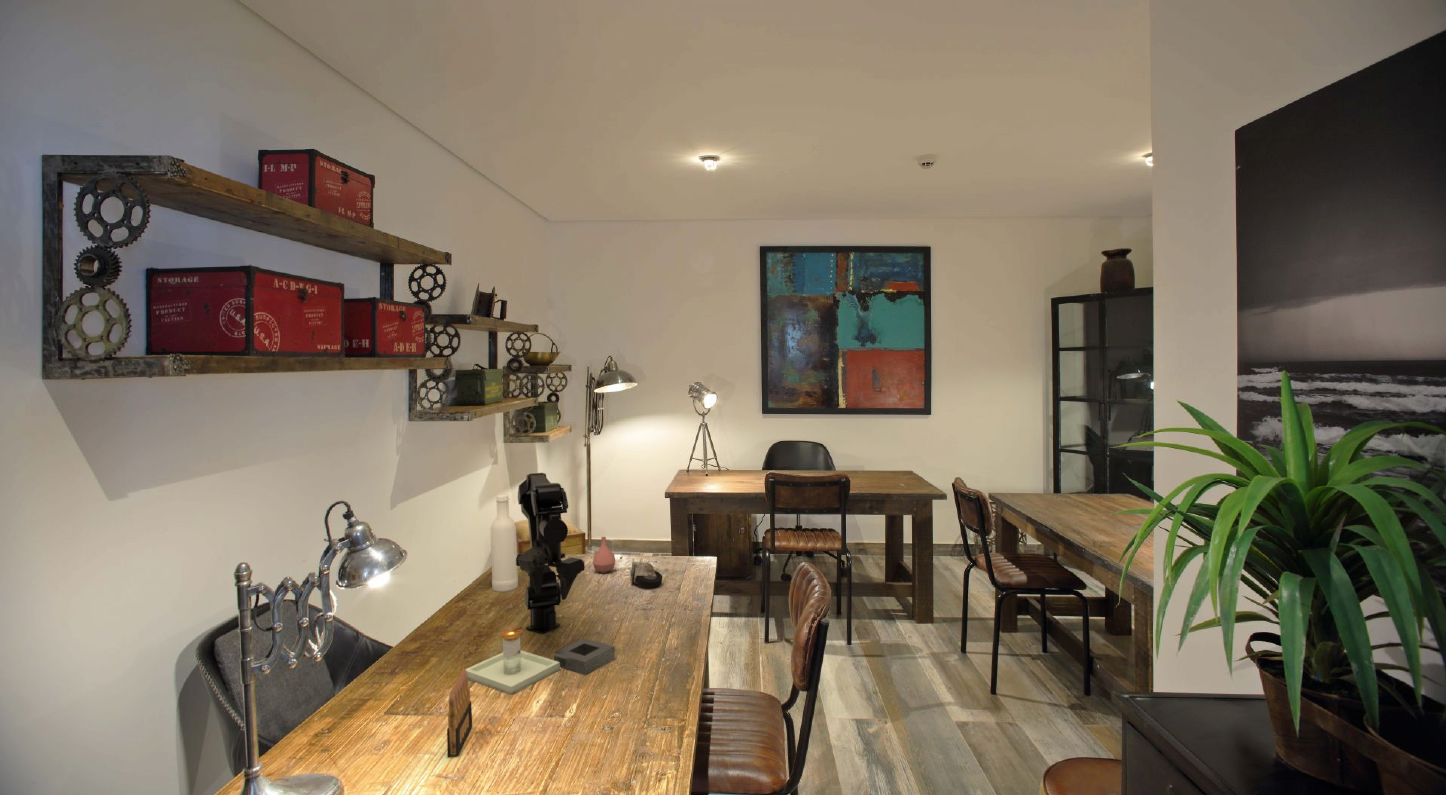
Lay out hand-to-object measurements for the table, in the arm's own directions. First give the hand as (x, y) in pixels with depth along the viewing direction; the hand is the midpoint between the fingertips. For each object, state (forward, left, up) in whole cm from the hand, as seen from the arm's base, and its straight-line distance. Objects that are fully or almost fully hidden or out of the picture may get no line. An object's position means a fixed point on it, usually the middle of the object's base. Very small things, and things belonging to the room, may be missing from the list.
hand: (550, 596), depth 168 cm
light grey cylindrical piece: (+3, -15, -12) cm, 20 cm away
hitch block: (+13, -2, -13) cm, 18 cm away
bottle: (-48, +25, -13) cm, 56 cm away
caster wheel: (-11, +51, -13) cm, 54 cm away
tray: (+3, -15, -13) cm, 20 cm away
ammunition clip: (+17, -39, -13) cm, 45 cm away
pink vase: (-32, +54, -13) cm, 64 cm away
